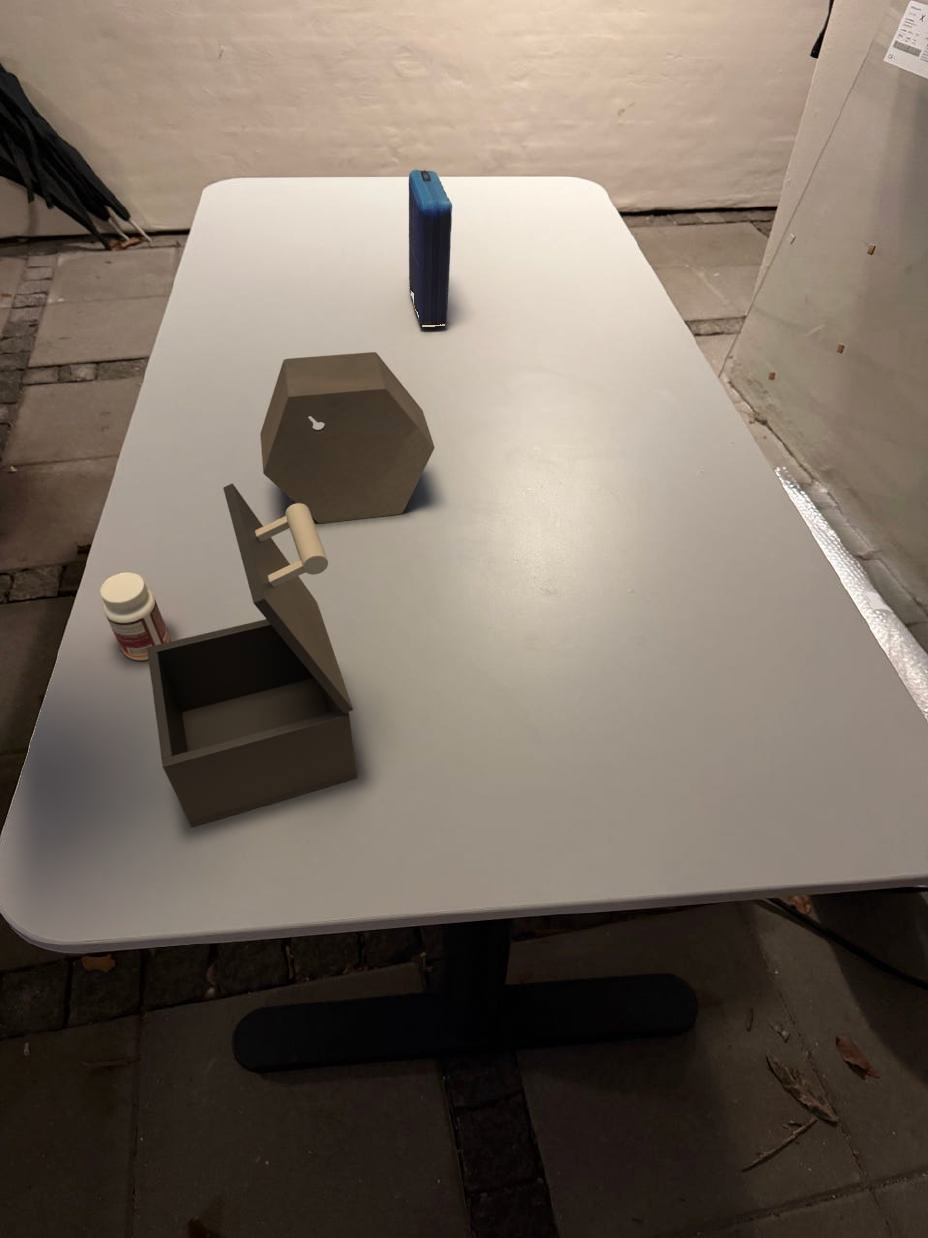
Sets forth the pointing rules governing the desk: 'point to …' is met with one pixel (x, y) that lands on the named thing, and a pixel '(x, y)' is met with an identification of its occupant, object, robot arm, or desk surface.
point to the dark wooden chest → (244, 722)
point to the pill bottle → (133, 614)
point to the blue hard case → (429, 246)
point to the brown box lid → (288, 587)
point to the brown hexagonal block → (344, 437)
